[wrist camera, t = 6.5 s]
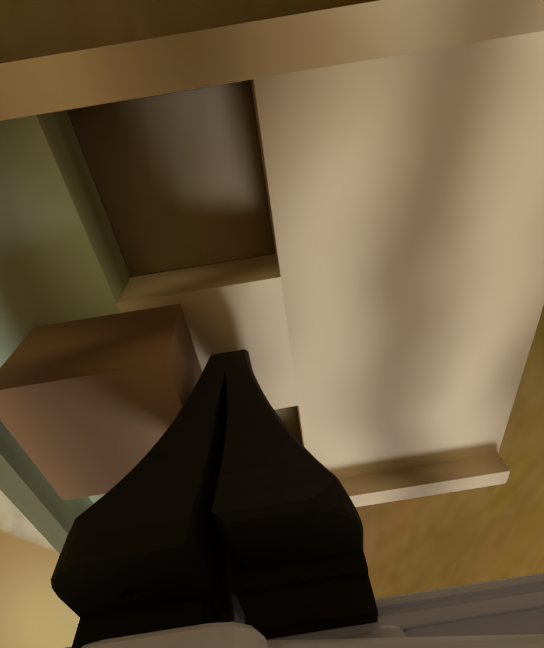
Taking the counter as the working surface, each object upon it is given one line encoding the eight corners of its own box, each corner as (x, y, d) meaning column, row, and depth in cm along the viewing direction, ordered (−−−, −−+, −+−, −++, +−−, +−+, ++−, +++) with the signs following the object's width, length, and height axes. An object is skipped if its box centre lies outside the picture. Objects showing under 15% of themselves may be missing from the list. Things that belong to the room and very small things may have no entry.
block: (180, 303, 12) (165, 363, 10) (213, 408, 15) (209, 477, 13) (34, 326, 12) (-21, 392, 10) (93, 427, 15) (63, 500, 13)
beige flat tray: (582, -19, 10) (749, -69, 7) (473, 434, 21) (518, 502, 17) (-159, 104, 10) (-346, 114, 7) (102, 493, 21) (76, 572, 17)
